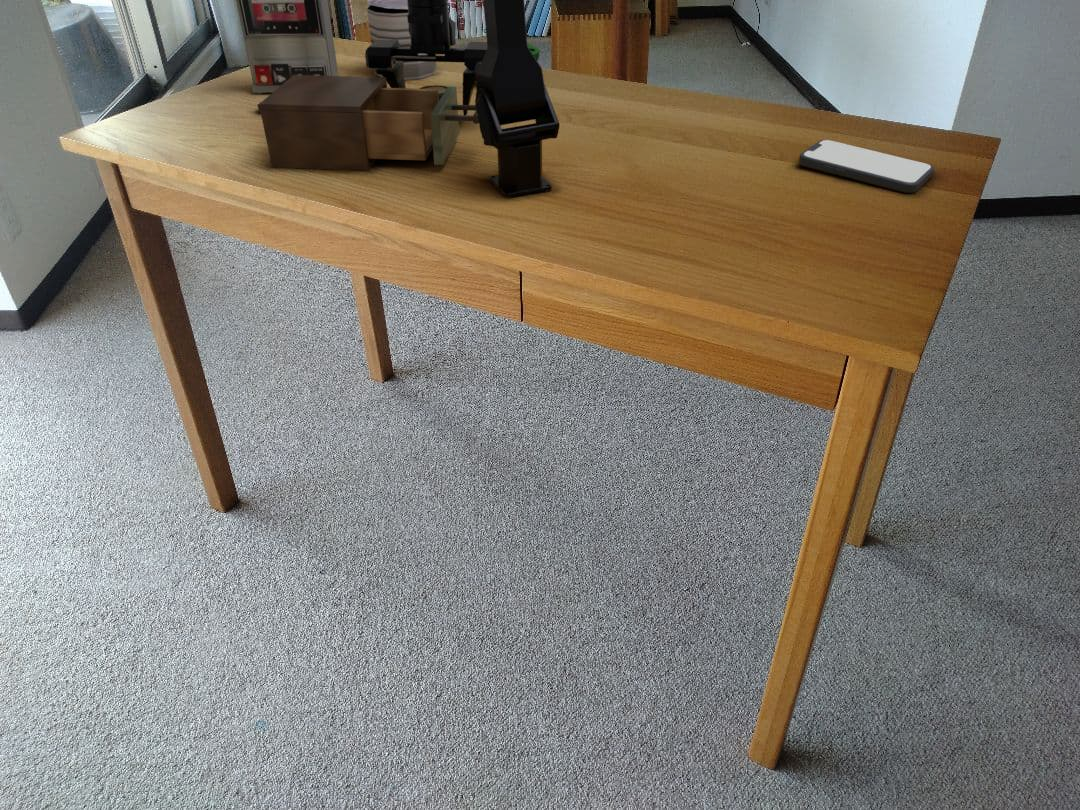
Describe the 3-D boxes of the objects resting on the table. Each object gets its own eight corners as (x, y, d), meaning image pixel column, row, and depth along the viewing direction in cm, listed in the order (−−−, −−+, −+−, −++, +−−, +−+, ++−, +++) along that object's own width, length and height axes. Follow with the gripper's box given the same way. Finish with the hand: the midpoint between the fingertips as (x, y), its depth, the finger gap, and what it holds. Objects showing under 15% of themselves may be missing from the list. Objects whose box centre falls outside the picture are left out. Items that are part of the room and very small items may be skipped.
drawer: (491, 135, 121) (489, 87, 117) (478, 166, 111) (475, 115, 107) (376, 131, 122) (370, 84, 118) (352, 162, 112) (345, 111, 108)
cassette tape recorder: (252, 94, 140) (217, -75, 125) (261, 84, 145) (228, -80, 130) (335, 93, 140) (309, -76, 125) (340, 83, 145) (317, -81, 130)
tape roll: (459, 125, 127) (457, 93, 124) (424, 129, 125) (421, 97, 123) (448, 114, 131) (446, 83, 128) (414, 119, 130) (411, 87, 127)
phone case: (934, 176, 110) (820, 148, 118) (937, 165, 109) (823, 137, 117) (911, 197, 105) (794, 166, 113) (915, 185, 104) (796, 155, 112)
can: (371, 66, 154) (362, -5, 147) (431, 61, 156) (426, -9, 149) (378, 83, 145) (369, 8, 138) (442, 77, 148) (436, 4, 140)
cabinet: (392, 136, 123) (386, 77, 118) (368, 170, 112) (360, 106, 107) (304, 134, 124) (293, 74, 119) (271, 167, 113) (258, 103, 108)
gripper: (499, -7, 124) (503, 99, 133) (378, -9, 125) (389, 96, 135) (488, 9, 115) (493, 122, 124) (357, 7, 116) (371, 118, 126)
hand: (436, 113), depth 128 cm, fingers open, 9 cm apart
